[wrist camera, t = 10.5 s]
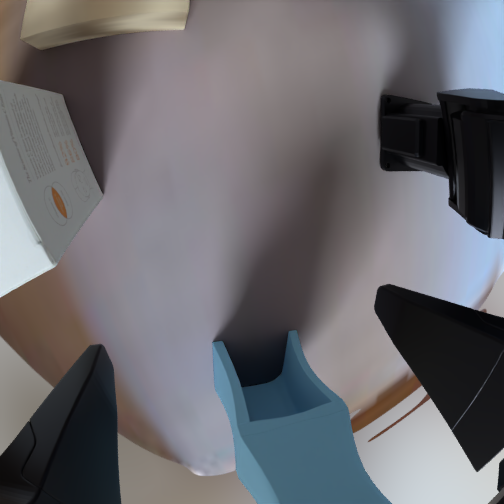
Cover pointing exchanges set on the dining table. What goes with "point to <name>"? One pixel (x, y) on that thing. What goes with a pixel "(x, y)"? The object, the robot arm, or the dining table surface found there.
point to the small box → (39, 183)
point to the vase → (292, 435)
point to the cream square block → (97, 19)
